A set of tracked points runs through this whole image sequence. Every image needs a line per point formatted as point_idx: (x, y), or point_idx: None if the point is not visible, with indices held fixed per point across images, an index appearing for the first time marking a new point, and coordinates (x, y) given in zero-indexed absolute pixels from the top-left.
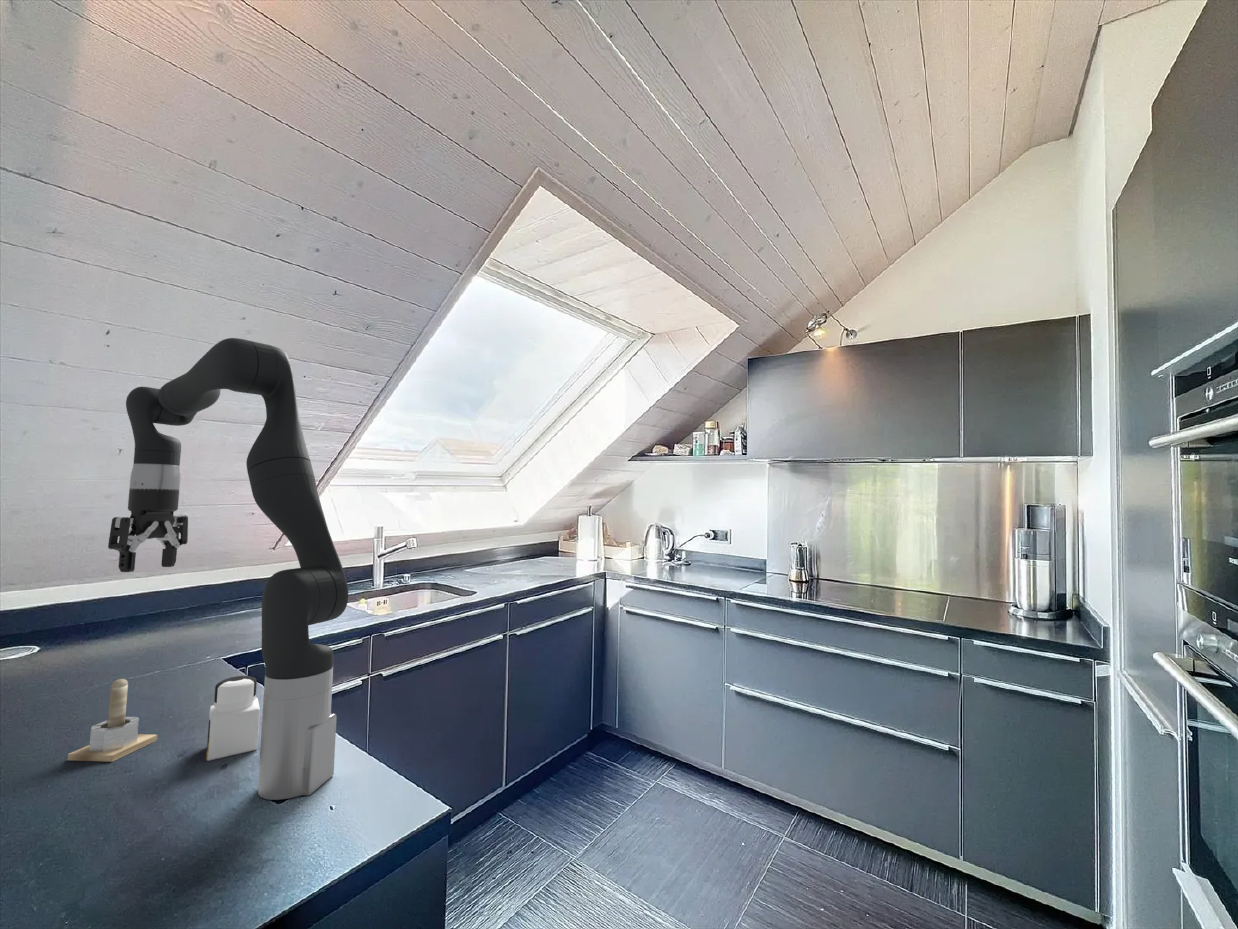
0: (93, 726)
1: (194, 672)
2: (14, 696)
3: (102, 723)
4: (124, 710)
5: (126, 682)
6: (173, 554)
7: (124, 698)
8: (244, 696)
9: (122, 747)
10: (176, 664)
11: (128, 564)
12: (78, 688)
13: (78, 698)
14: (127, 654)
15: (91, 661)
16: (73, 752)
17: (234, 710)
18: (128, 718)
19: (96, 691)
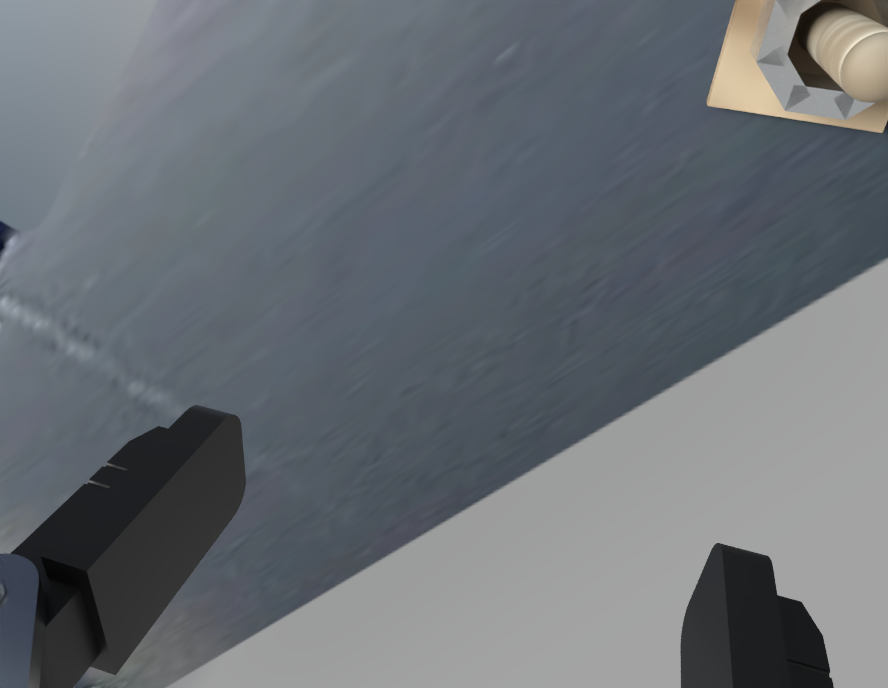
0: (850, 112)
1: (115, 279)
2: (345, 574)
3: (822, 100)
4: (857, 16)
5: (883, 37)
6: (128, 504)
7: (875, 23)
8: None
9: None
10: (73, 375)
11: (786, 647)
12: (282, 487)
13: (350, 443)
14: None
15: None
16: (870, 125)
17: None
18: (785, 32)
19: (298, 435)
